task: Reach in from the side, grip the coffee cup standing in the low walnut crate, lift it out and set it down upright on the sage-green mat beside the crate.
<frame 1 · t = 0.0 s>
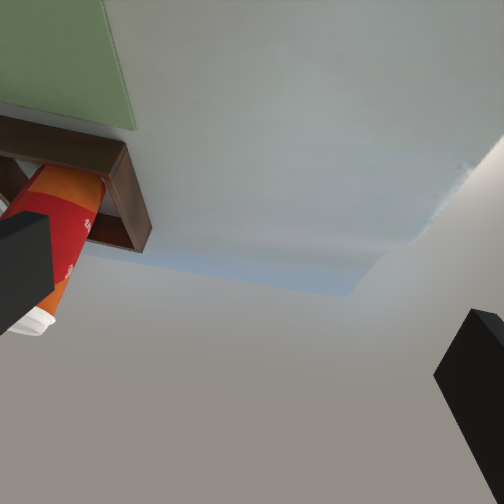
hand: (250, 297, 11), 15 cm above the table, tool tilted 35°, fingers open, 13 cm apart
crate: (76, 178, 34), on the table
coffee cup: (77, 177, 34), resting in crate
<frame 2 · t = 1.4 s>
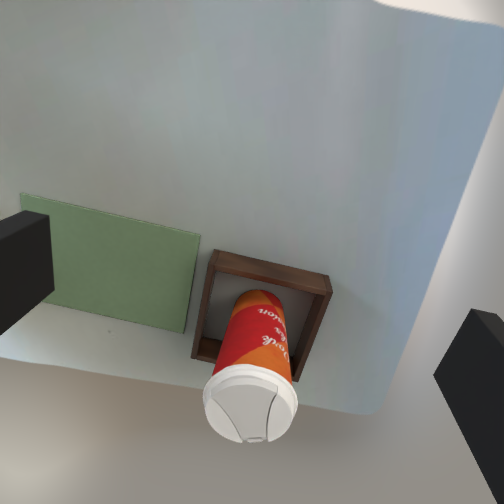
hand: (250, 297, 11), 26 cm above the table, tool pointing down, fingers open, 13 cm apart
mat: (109, 268, 41), on the table
crate: (258, 309, 42), on the table
coffee cup: (258, 308, 42), resting in crate
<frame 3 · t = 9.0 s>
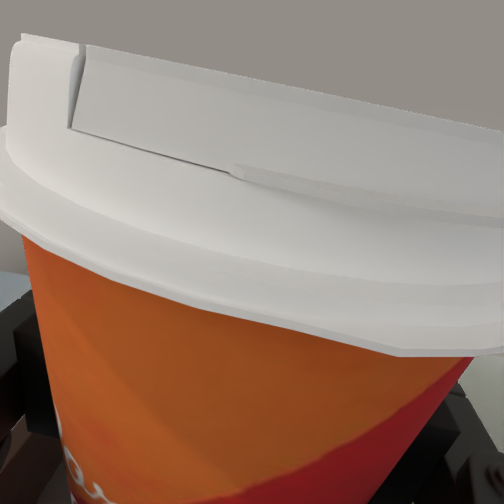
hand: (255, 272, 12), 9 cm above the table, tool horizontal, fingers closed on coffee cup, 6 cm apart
when the fingers open (9 cm above the table, at t = 16.4 s): coffee cup stays where it is, resting on mat.
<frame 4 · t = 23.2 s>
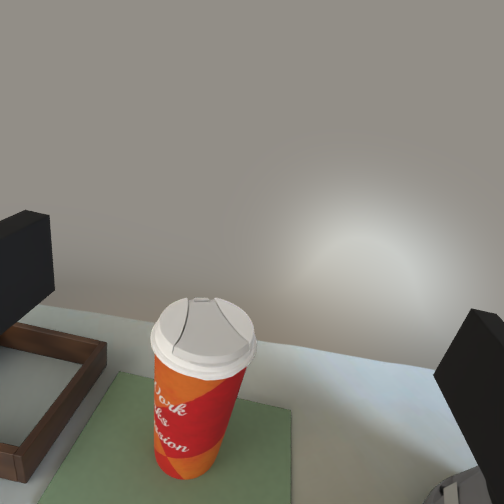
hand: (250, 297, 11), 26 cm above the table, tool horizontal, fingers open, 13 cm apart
mat: (187, 450, 33), on the table
crate: (8, 398, 34), on the table
coffee cup: (186, 449, 33), resting on mat
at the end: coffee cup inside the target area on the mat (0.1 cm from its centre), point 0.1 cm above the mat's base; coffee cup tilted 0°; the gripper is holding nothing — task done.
